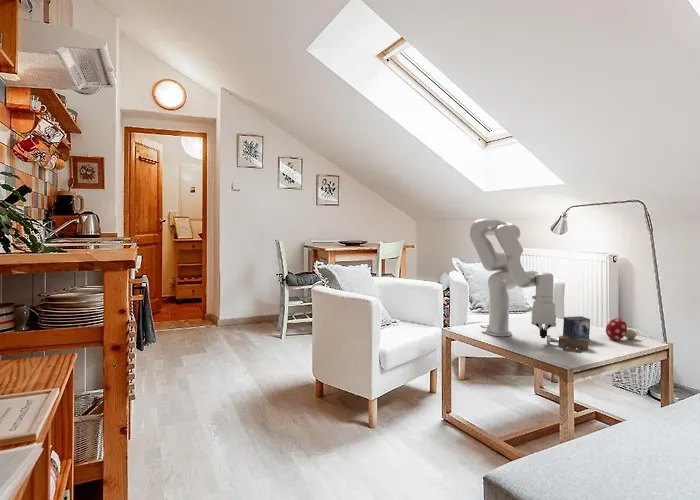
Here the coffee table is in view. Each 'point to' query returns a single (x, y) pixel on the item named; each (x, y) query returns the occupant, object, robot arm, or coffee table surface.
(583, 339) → the hinge
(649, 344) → the coffee table surface
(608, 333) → the decorative mushroom
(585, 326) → the small box
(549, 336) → the hinge pin
